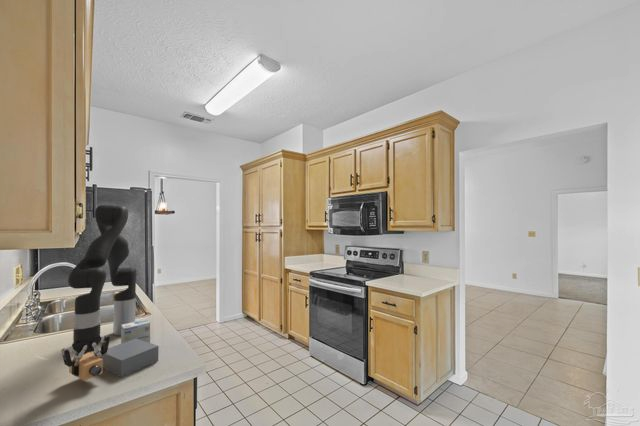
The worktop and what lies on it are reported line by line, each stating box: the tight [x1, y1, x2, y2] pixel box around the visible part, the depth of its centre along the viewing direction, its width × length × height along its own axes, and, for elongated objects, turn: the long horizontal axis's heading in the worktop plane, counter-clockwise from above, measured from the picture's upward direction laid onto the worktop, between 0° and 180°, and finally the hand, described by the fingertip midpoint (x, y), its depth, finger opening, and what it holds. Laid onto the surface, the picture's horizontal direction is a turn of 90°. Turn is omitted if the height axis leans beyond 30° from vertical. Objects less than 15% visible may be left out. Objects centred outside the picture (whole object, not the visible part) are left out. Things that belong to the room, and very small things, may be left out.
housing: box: [68, 352, 104, 382], centre depth 102 cm, size 13×6×5 cm, turn 62°
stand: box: [101, 338, 160, 378], centre depth 116 cm, size 16×14×6 cm
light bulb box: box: [120, 318, 151, 344], centre depth 131 cm, size 11×7×11 cm, turn 135°
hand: (86, 371), depth 102 cm, fingers closed on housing, 5 cm apart
